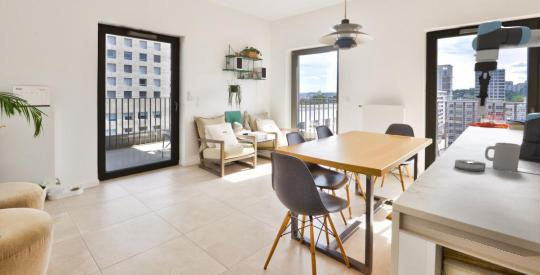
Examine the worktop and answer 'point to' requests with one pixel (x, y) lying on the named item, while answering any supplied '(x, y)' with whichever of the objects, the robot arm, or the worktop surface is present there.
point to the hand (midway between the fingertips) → (481, 112)
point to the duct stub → (470, 165)
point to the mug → (504, 156)
